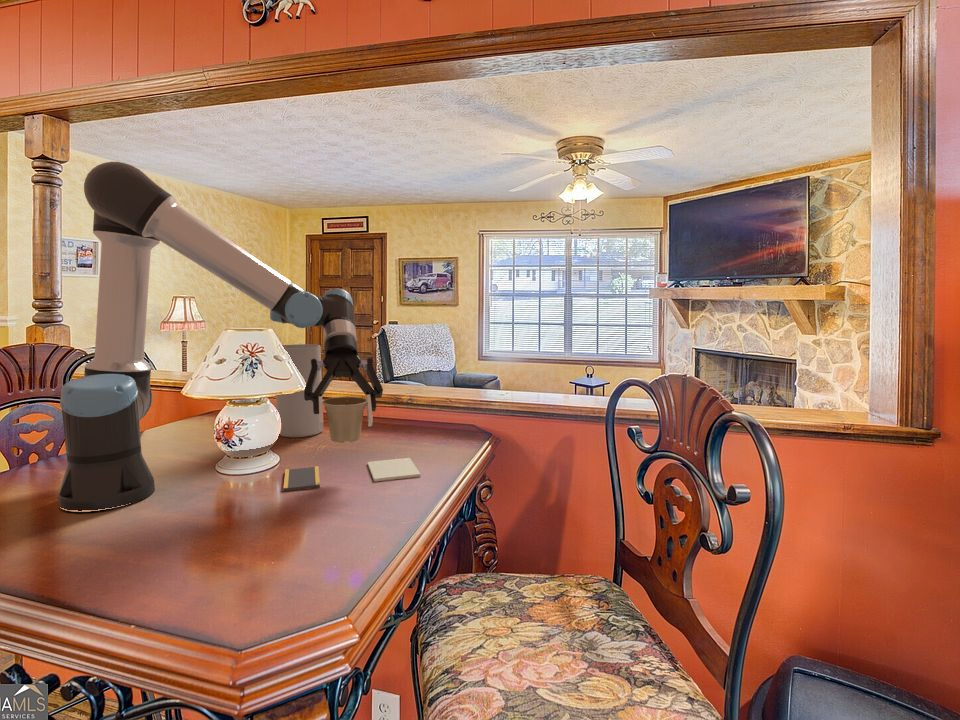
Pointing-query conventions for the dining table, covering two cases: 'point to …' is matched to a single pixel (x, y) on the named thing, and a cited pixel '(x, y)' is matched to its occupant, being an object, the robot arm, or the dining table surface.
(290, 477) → the trap mat
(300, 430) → the cylinder vase
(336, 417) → the flower pot
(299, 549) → the dining table surface
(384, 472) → the pad
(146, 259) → the robot arm
